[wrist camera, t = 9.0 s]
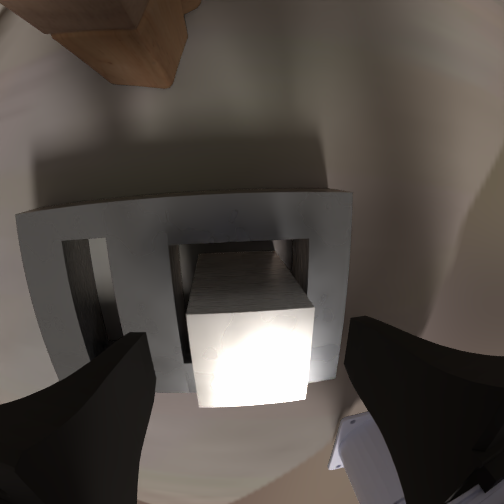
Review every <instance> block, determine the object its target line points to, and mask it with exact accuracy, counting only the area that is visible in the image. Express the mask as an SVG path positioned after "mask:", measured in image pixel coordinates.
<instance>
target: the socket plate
mask: <svg viewBox="0 0 504 504" xmlns="http://www.w3.org/2000/svg"><path fill="white" fill-rule="evenodd" d="M352 196H353V192H347V191H342V190H336V189H330V188H266V189H232V190H209V191H191V192H175V193H161V194H149V195H137V196H126V197H116V198H107V199H98V200H89V201H81V202H73V203H65V204H58V205H51V206H44V207H41V208H37V209H33V210H30V211H26V212H22V213H19V214H15V216H16V225H17V232H18V239H19V245H20V251H21V256H22V262H23V267H24V271H25V276H26V280H27V285H28V289H29V293H30V297H31V300H32V304H33V308H34V311H35V315H36V318H37V321H38V324H39V328H40V331H41V334H42V337H43V340H44V342H45V345H46V348H47V351H48V353H49V356H50V359H51V361H52V364H53V366H54V369H55V371H56V374H57V376H58V378H59V381H61V380H62V379H64V378H66V377H68V376H69V375H71V374H72V373H74V372H75V371H77V370H78V369H80V368H81V367H83V366H84V365H86V364H87V363H88V362H90V361H91V360H93V359H94V358H96V357H97V356H98V355H99V354H101V353H102V352H103V351H105V350H106V349H107V348H109V347H110V346H111V345H112V344H114V343H115V342H116V341H108V337H107V334H106V330H105V326H104V322H103V318H102V313H101V309H100V305H99V300H98V295H97V290H96V285H95V280H94V274H93V269H92V263H91V257H90V250H89V243H88V239H91V238H104V237H106V242H107V250H108V257H109V264H110V270H111V276H112V282H113V288H114V293H115V298H116V303H117V308H118V313H119V318H120V322H121V327H122V331H123V335H126V334H127V333H129V332H146V334H147V339H148V344H149V348H150V353H151V357H152V362H153V366H154V370H155V374H156V378H157V379H156V388H155V392H157V393H196V392H197V390H196V384H195V378H194V371H193V364H192V357H191V350H190V342H189V334H188V328H187V320H186V312H185V304H184V295H183V286H182V277H181V266H180V255H179V245H180V244H199V243H219V242H240V241H261V240H284V239H293V248H292V275H293V277H294V278H295V280H296V281H297V282H298V284H299V285H300V287H301V288H302V290H303V291H304V292H305V294H306V295H307V297H308V298H309V300H310V301H311V302H312V304H313V305H314V307H315V312H314V324H313V335H312V345H311V354H310V364H309V372H308V381H307V383H311V382H317V381H323V380H329V379H335V377H336V371H337V365H338V359H339V352H340V345H341V338H342V330H343V323H344V314H345V305H346V296H347V285H348V274H349V261H350V246H351V227H352Z"/></svg>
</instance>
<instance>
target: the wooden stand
mask: <svg viewBox="0 0 504 504" xmlns="http://www.w3.org/2000/svg"><path fill="white" fill-rule="evenodd" d="M0 3H1V4H2V5H4V6H5V7H7V8H8V9H10V10H11V11H12V12H14V13H15V14H17V15H18V16H20V17H21V18H23V19H24V20H25V21H27V22H28V23H30V24H31V25H33V26H34V27H35V28H37V29H38V30H40V31H41V32H42V33H44V34H51V36H52V38H53V39H54V40H56V41H57V42H58V43H60V44H61V45H62V46H64V47H65V48H66V49H68V50H69V51H70V52H72V53H73V54H74V55H76V56H77V57H78V58H80V59H81V60H82V61H83V62H85V63H86V64H87V65H89V66H90V67H91V68H93V69H94V70H95V71H96V72H98V73H99V74H100V75H101V76H103V77H104V78H105V79H106V80H108V81H109V82H110V83H112V84H117V85H132V86H144V87H154V88H163V89H165V88H170V86H171V85H172V84H173V81H174V78H175V74H176V71H177V68H178V65H179V62H180V58H181V55H182V52H183V49H184V46H185V43H186V41H187V38H188V34H187V29H186V24H185V20H184V14H186V13H188V12H190V11H192V10H194V9H196V8H197V7H198V6H199V5H200V3H201V0H0Z"/></svg>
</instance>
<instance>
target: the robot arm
mask: <svg viewBox="0 0 504 504" xmlns="http://www.w3.org/2000/svg"><path fill="white" fill-rule="evenodd" d="M344 365H345V367H346V370H347V373H348V375H349V378H350V380H351V382H352V384H353V386H354V388H355V390H356V391H357V393H358V395H359V396H360V398H361V400H362V401H363V403H364V405H365V406H366V408H367V410H368V411H367V412H363V413H360V414H356V415H351V416H347V417H344V418H343V419H342V420H341V421H340V425H339V428H338V432H337V436H336V439H335V443H334V447H333V450H332V454H331V457H330V460H329V463H328V469H329V470H334V469H338V468H342V467H344V468H345V470H346V473H347V475H348V477H349V480H350V482H351V485H352V487H353V489H354V491H355V494H356V496H357V499H358V501H359V503H360V504H504V356H490V355H482V354H476V353H469V352H465V351H460V350H456V349H452V348H449V347H445V346H441V345H439V344H435V343H432V342H430V341H427V340H424V339H422V338H419V337H417V336H414V335H412V334H409V333H407V332H405V331H402V330H400V329H398V328H395V327H393V326H391V325H388V324H386V323H384V322H381V321H379V320H376V319H374V318H371V317H368V316H361V317H354V318H351V319H350V327H349V334H348V341H347V348H346V354H345V360H344ZM156 379H157V378H156V374H155V370H154V366H153V362H152V357H151V353H150V348H149V344H148V339H147V334H146V332H129V333H127V334H126V335H124V336H123V337H122V338H120V339H119V340H118V341H116V342H115V343H114V344H112V345H111V346H110V347H109V348H107V349H106V350H105V351H103V352H102V353H101V354H99V355H98V356H97V357H96V358H94V359H93V360H91V361H90V362H88V363H87V364H86V365H84V366H83V367H81V368H80V369H78V370H77V371H75V372H74V373H72V374H71V375H69V376H68V377H66V378H64V379H62V380H61V381H59V382H57V383H55V384H53V385H51V386H49V387H47V388H45V389H43V390H41V391H38V392H36V393H33V394H31V395H29V396H26V397H24V398H21V399H18V400H15V401H12V402H9V403H5V404H1V405H0V504H137V486H138V473H139V462H140V456H141V450H142V446H143V442H144V438H145V434H146V430H147V426H148V422H149V419H150V415H151V411H152V407H153V403H154V396H155V388H156Z"/></svg>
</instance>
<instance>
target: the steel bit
mask: <svg viewBox="0 0 504 504" xmlns="http://www.w3.org/2000/svg"><path fill="white" fill-rule="evenodd" d="M314 312H315V307H314V305H313V304H312V302H311V301H310V300H309V298H308V297H307V295H306V294H305V292H304V291H303V290H302V288H301V287H300V285H299V284H298V282H297V281H296V280H295V278H294V277H293V275H292V274H291V273H290V271H289V270H288V268H287V267H286V266H285V264H284V263H283V261H282V260H281V259H280V257H279V256H278V254H277V253H276V252H275V251H251V252H225V253H200V254H199V256H198V261H197V265H196V270H195V274H194V279H193V284H192V289H191V293H190V298H189V303H188V308H187V313H186V317H187V326H188V334H189V342H190V350H191V357H192V364H193V371H194V378H195V384H196V390H197V397H198V402H199V407H228V406H245V405H257V404H268V403H277V402H286V401H294V400H301V399H305V396H306V389H307V381H308V372H309V364H310V354H311V345H312V335H313V324H314Z"/></svg>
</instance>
